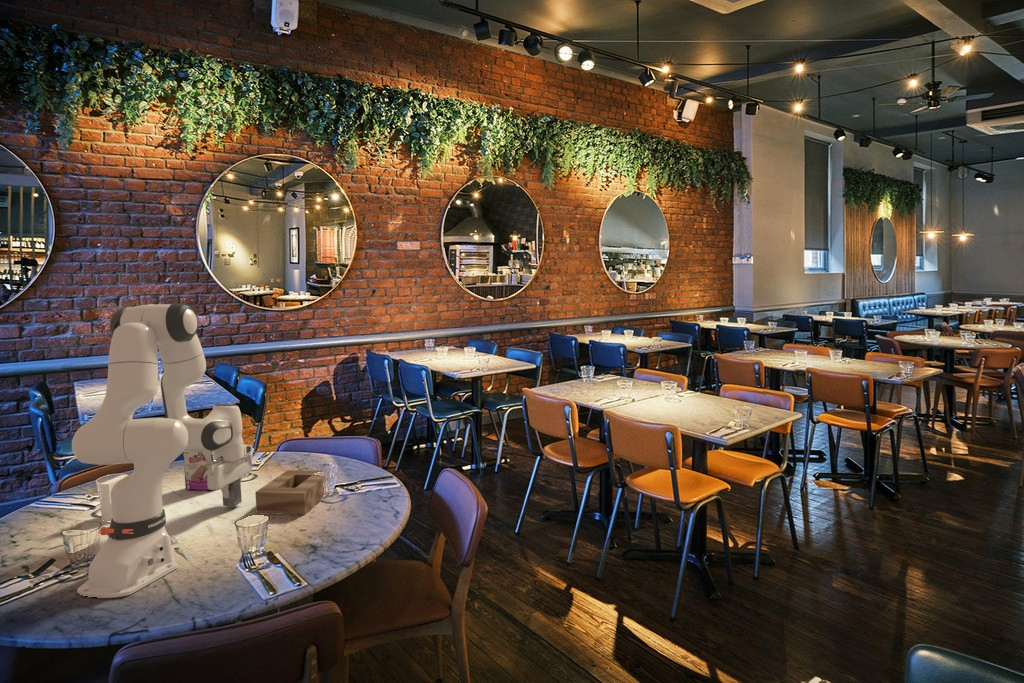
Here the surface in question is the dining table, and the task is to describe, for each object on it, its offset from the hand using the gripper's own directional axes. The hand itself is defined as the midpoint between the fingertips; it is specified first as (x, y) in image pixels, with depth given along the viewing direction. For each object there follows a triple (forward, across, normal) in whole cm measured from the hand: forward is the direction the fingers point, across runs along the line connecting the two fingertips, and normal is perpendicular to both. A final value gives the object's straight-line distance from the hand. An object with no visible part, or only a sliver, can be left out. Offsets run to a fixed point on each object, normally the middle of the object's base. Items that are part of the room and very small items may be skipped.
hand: (231, 494), depth 201 cm
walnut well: (+4, +6, -19) cm, 20 cm away
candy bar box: (+4, +16, +20) cm, 26 cm away
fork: (+5, -33, -5) cm, 33 cm away
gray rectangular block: (+3, 0, 0) cm, 3 cm away
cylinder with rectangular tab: (+4, -10, +32) cm, 34 cm away
